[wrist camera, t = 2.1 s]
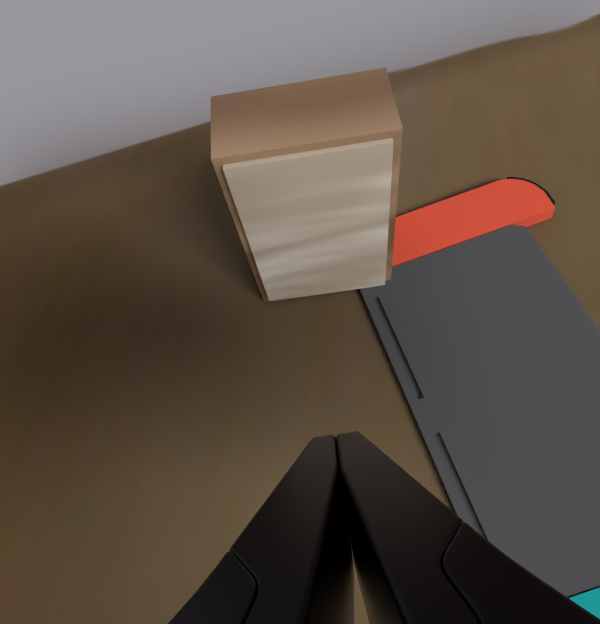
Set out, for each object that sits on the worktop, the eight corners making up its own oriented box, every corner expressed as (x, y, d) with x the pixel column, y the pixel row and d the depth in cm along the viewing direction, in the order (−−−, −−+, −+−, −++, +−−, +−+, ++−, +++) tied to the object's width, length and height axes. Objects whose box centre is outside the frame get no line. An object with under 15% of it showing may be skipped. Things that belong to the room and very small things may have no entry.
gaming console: (537, 712, 15) (839, 609, 15) (546, 721, 15) (868, 612, 14) (339, 249, 25) (524, 182, 25) (337, 236, 24) (530, 167, 24)
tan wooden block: (391, 287, 23) (404, 133, 15) (264, 305, 23) (211, 163, 15) (379, 233, 24) (385, 67, 16) (260, 250, 25) (210, 96, 17)
